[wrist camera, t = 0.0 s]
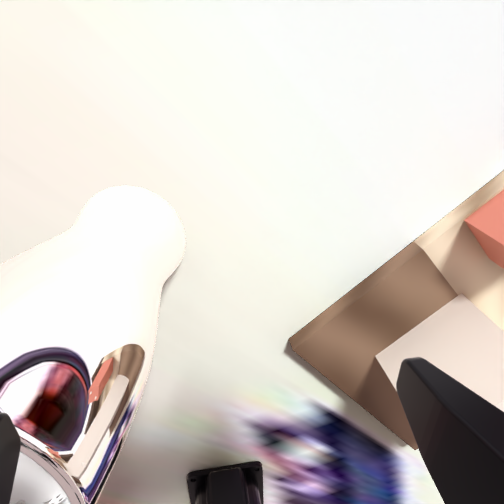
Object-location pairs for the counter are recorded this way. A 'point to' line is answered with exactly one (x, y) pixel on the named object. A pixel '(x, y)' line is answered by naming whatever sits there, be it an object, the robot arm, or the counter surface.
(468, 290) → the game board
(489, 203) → the terracotta die
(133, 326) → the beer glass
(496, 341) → the ivory die
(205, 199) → the counter surface
